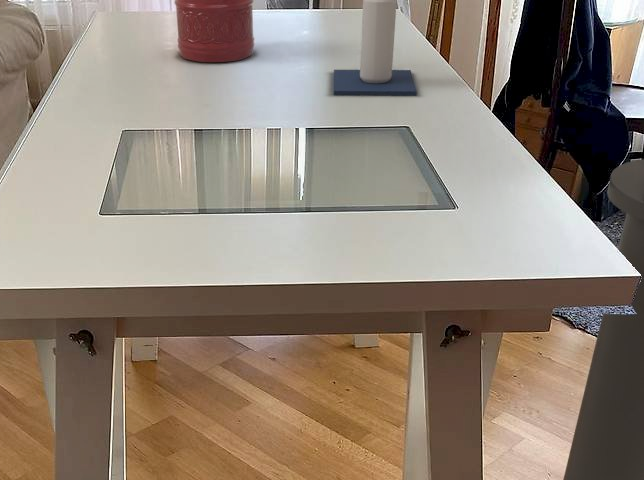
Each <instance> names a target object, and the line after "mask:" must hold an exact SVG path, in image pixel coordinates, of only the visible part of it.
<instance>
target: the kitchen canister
mask: <svg viewBox="0 0 644 480" xmlns="http://www.w3.org/2000/svg"><path fill="white" fill-rule="evenodd" d="M253 3H254V0H174V5H175V12H176V24H177V48H178V50H179V55H180V56H181V57H182V59H183V58H184V59H185V60H189V61H192V62H201V63H226V62H233V61H234V62H235V61H240V60H244V59H246V58H249V57H251V56H252V55H253V54H254V47H255V36H254V17H253V13H254V11H253Z"/></svg>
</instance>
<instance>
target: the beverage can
mask: <svg viewBox="0 0 644 480" xmlns="http://www.w3.org/2000/svg"><path fill="white" fill-rule="evenodd" d="M361 16H362V17H361V36H360V37H361V40H360V61H359V63H360V65H359V70H360V77H361V79H362V80H363V81H364V82H367V83H375V84H378V83H385V82H388V81H389V80H390V79H391V76H392V70H393V61H394V47H395V32H396V17H397V0H362V15H361Z"/></svg>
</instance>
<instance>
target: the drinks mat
mask: <svg viewBox="0 0 644 480" xmlns="http://www.w3.org/2000/svg"><path fill="white" fill-rule="evenodd" d="M412 73H413V72H412V70H411V69H392V76H391V79H390V80H389V81H388V82H385V83H378V84H375V83H367V82H364V81H363V80H362V79H361V77H360V69H333V95H334V96H417V94H418V93H417V92H418V91H417V88H416V84H415V81H414V77H413V74H412Z"/></svg>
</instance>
